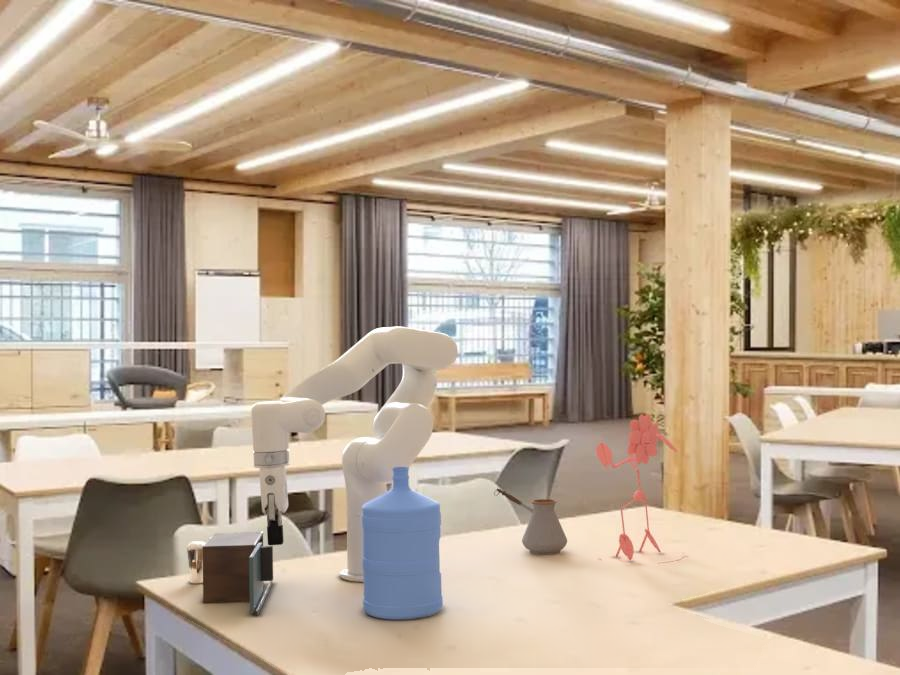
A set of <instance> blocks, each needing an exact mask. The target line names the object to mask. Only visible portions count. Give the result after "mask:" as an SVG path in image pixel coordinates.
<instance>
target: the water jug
mask: <svg viewBox="0 0 900 675" xmlns="http://www.w3.org/2000/svg"><path fill="white" fill-rule="evenodd" d="M409 468H410V467H409ZM409 468H408V467H395V468H392V470H393V482H392V487H391V489H390V490H389V489H388V490H387V492H386V493H384V494H382V495H380V496H378V497H376V498H374V499H373V500H371V501H369V502H367V503H365V504H364V505H363V507H362V527H363V557H362V566H363V582H362V583H363V598H362V609H363V611H364V612H365V613H366V614H367V615H369V616H370V617H374V618H377V619H383V620H391V621H393V620H394V621H395V620H396V621H397V620H398V621H401V620H403V621H404V620H415V619H422V618H427V617H430V616H433V615H436V614H437V613H439V612H440V611H441V610H442V608H443V602H444V601H443V595H442V573H441V569H440V565H441V564H440V540H441V536H442V534H441V525H442V515H441V514H442V513H441V505H440V502H438V501H437V500H434V499H432V498H431V497H429V496H426V495H424V494H423V493H420V492H417V490H414V489H411V487H410V486H409V478H410V476H409Z"/></svg>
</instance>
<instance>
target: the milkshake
mask: <svg viewBox="0 0 900 675" xmlns="http://www.w3.org/2000/svg"><path fill="white" fill-rule="evenodd" d="M210 538H211V537H209V538H208V540H209V539H210ZM205 543H206V542H204V541H202V540H200V541H191V542H189V543H188V544H187V546H186V551H187V560H188V570H189V583H190V584H194V585H195V584H196V585H197V584H203V546H204V545H205Z"/></svg>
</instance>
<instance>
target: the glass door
mask: <svg viewBox="0 0 900 675" xmlns="http://www.w3.org/2000/svg"><path fill="white" fill-rule="evenodd" d="M273 546H274V545H263V546H262V543H258V544H257V546H256V548H255V549H254V551H253V552H252V554H251V555H250V557H249V587H250V601H249V613H250V614H254V613H255V611H256V609H257V607H258V605H259V603H260V600H261V598H262V596H263V594H264V584H263V581H264V582H270V581H272V582H273V581H274V547H273Z"/></svg>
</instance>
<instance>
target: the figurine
mask: <svg viewBox="0 0 900 675" xmlns="http://www.w3.org/2000/svg"><path fill="white" fill-rule="evenodd" d="M629 427H630V430H631V432H630V434H629V435H628V442H629V443H628V445H627V449H626V450H627V454H628V455H629V457H628V458H627V459H625V460H623V461H621V462H618V463H617V464H614V463H613V453H612V449H610V447H609V446H608V445H607V444H604V443H603V442H602V441H600V442H599V443H598V444H597V445H596V449H595V456H596V458H597V460H598V461H599V462H600V463H601V464H602V465H603V466H605V467H606V468H609V466H611V467H612V469H615V468H618V467H619V466H622V465H624V464H625V463H627V462H629V463H630V464H631V465H632V467H633V468H634V469H635V471H636V475H637V482H638V488H639V490H636V491H635V492H634V493H633V500H632V501H630V502H628V503H626V504H625V505H624V506H622V507H620V516H621V523H622V525H621V526H622V533H621V534H619V536H618V543H619V546H618V548H617V551H616V554H615V556H614V557H615V558H618V557H619V554H620V552H622V553H623V554H624V556H625V557H626V558H627V559H628V560H629V561H632V559H633V556H634V553H635V551H634V550H635V549H634V544H633V542H632V540H631V539H630V537H629V535H627V534H626V531H625V522H624V514H623V510H624V509H625V508H626V507H628V506H629V505H631V504H632V503H634V502H639V503H641V502H643V503H644V507H645V518H646V527H647V528H644V532H645V535H644V537H643V540H642V543H641V544H640V547H639V550H638V553H642V551H643V548H644V547H645V546H644V545H645V543H646V541H647V539H648V540H649V541H650V543H651V544H652V546H653V547H654V548H655V549H656V550H657V551H658V552H659V553H661V549H660V547H659V545H658V543H657V541H656V539H655V538H654V536H653V535H652V534H651V532H650V527H649V515H648V514H649V513H648V504H647V501H646V494H645V493H644V491H642V485H641V476H640V475H641V474H640V470H639V469H638V467H637V466H636V464H637V465H640V464H641V463H643V464H644V465H647V464H648V463H649V460H650V459H649V458H650V457H656V456H657V455H658V449H657V447H656V445H657V443H658V441H659V439H660V440H661V441H662V442H663V443H664V444H665V445H666V446H667V447H669V448H670V449H671V450H672V451H674V452H676V453H677V452H678V450H677V448H676V447H675V446H674V445H673V443H672V442H670V441H669V439H668V438H666V437H665V435H664V434H662V433H661V432H659V424H658V423H657V422H655V423H652V417H651V414H650V413H646V414H645V415H644V414H640V415H639V416H638V420H637V419H631V420H630V421H629ZM633 457H635V458H633ZM634 461H635V463H636V464H635V463H634ZM681 553H682V554H684V555H683V557H681V558H679V559H676V560H672V561H670V563H672V562H680V561H681V560H683V559H684V558H685V553H684V552H681ZM686 558H687V555H686ZM599 560H600V561H603V559H602V558H599ZM668 563H669V561H664V562H662V564H668ZM657 564H658V565H659V564H660V562H657Z"/></svg>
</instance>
